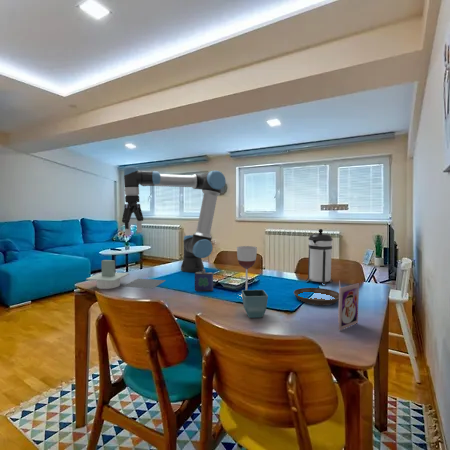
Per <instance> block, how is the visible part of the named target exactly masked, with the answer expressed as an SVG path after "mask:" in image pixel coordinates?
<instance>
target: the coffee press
mask: <svg viewBox="0 0 450 450" xmlns="http://www.w3.org/2000/svg"><path fill="white" fill-rule="evenodd" d="M332 244H333V238H332V236H331V234H328V233H323V229H322V228H319V229H318V232H317V233H312V234H310V235H309V236H308V263H307V265H308V266H307V268H308V269H307V278H306V280H305V282H306V281H307V282H308V281H310V282H315V283H316V282H318V283H321V284H322V283H323V284H326V283H327V282H329V283H331V282H332V283H333V282H334V281H333V279H332V254H333V253H332V252H333V251H332V250H333V245H332ZM326 285H327V284H326Z"/></svg>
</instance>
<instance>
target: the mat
mask: <svg viewBox="0 0 450 450" xmlns="http://www.w3.org/2000/svg"><path fill="white" fill-rule="evenodd" d="M166 281H167V280H166V279H151V278H149V279H148V278H137V279H134V280H133V281H131V282H129V283H126V284H124V285H123V286H122V287H126V288H142V289H155V288H156V287H157V286H160V285H161V284H163V283H164V282H166Z"/></svg>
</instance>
